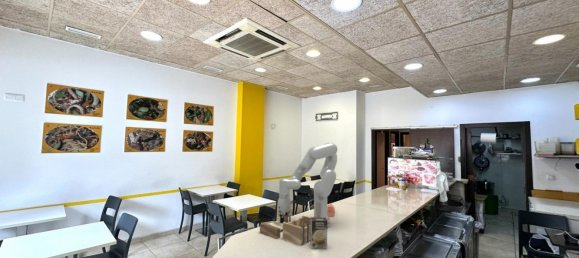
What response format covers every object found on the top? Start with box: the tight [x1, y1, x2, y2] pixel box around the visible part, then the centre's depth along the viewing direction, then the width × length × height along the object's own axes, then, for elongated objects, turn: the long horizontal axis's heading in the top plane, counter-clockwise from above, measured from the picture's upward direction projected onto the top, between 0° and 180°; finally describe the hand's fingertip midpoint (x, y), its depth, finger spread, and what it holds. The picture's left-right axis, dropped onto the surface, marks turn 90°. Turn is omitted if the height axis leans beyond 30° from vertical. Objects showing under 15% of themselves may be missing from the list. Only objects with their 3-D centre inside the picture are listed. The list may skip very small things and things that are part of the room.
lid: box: [268, 213, 289, 231], centre depth 168 cm, size 17×13×6 cm
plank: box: [259, 222, 281, 240], centre depth 155 cm, size 3×16×6 cm, turn 49°
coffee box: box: [309, 216, 329, 250], centre depth 139 cm, size 9×6×16 cm
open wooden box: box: [282, 214, 312, 247], centre depth 152 cm, size 20×15×13 cm
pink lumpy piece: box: [327, 202, 336, 218], centre depth 203 cm, size 18×10×10 cm, turn 0°
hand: (284, 221), depth 172 cm, fingers closed on lid, 4 cm apart
